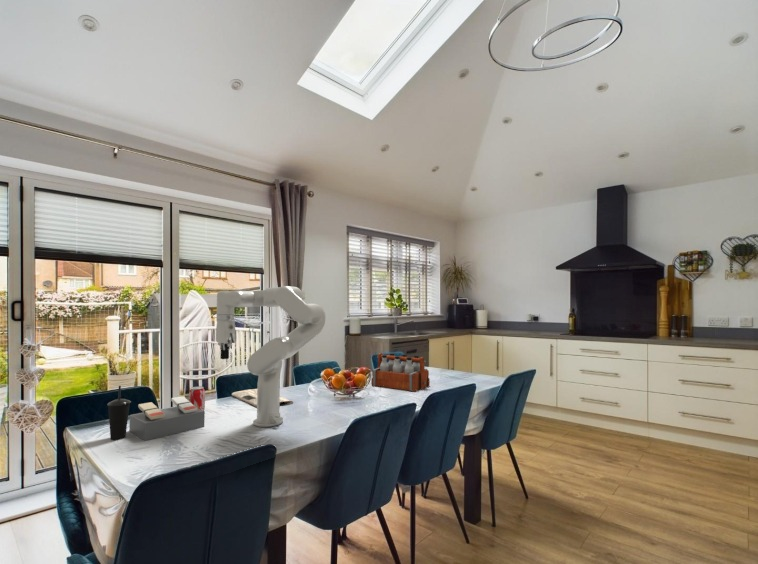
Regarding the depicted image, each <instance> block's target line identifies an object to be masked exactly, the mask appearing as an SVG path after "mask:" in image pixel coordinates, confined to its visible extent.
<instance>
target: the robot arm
mask: <svg viewBox="0 0 758 564" xmlns="http://www.w3.org/2000/svg"><path fill="white" fill-rule="evenodd" d="M303 298H304V293H303V291H302V290H301V289H300V288H299V287H297V286H290V285H282V286H279V287H266V288H265V289H263V290H262V289H261V290H232V291H231V290H221V291H218V292H217V294H216V320H215V321H216V329H215V342H216V343H217V345H218V346H219V350H220V355H219V356H220V357H219V359H220V360H228V359H229V358H230V349H231V347H232V346H233V344H235V343H236V338H237V336H236V324H235V308H253V307H255V308H256V307H267V308H272V307H273V308H274V307H275V308H276V307H280V308H281V309H282V310H283V311H284V312H285V313H287V315H288V316H289V317H291V318H292V319H293V320H294V321H295V322H297V323H298V324H300V325H298V326H296V328H294V329H293V330H291V331H290V332H289V333H287V334H286V335H283V336H280V337H274V338H272V339H270V340H269V341H268V342H266V343H265V344H264V345H262V346H261V347H260V348H259V349H257V350H256V351H255V352H253V353H252V354H251V355H250V356H249V357H248V360H247V363H246V365H247V370H248V372H249V373H250V374H251V375H254V376H257V377H258V378H257V388H256V389H257V407H256V418H255V419H253V420H252V424H253V425H254V426H255V427H260V428H266V427H267V428H268V427H275V426H279V425H282V423H284V417H281V412H280V411H281V409H280V404H281V402H280V397H281V396H280V395H281V393H280V391H281V373H282V372H281V371H282V368H283V360H286V359H289V358H291V357H293V356H294V355H296V354H297V353H298V352H299V351H300V350H302V349H303V348H304V347H305V346H306V345H308V344H309V343H310V342H311V341H313V340H314V339H315V338H316V337H318V335H319V334H320V333H321V332H322V330H323V329H324V327H325V324H326V312H325V310H324V308H323V307H322V306H321V305H320V304H317V303H306V302H305V301H304V300H303Z"/></svg>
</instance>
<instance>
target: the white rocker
mask: <svg viewBox="0 0 758 564" xmlns="http://www.w3.org/2000/svg"><path fill="white" fill-rule="evenodd" d="M171 402H172V403H173V404H174V405H175V406H177V407H178V408H179V409H181V410H182V411H183V412H184V413H190V412H195V411H197V408H196V407H195V406H194V405H193V404H192V403H191V402H189V399H187V398H186V397H185V396H184V395H182V396H175V397H171Z"/></svg>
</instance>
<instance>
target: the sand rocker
mask: <svg viewBox="0 0 758 564" xmlns="http://www.w3.org/2000/svg"><path fill="white" fill-rule="evenodd" d="M137 407H138V409H139V410H140V411H142V412H141V413H144V414H145V415H146V416H147V417H148V418H149V419H150V420H153V419H158V418H162V417H164V416H165V414H164V413H163V412H162V411H161V410H160V409H161V408H159V407H158V406H157V405H155V404H154V403H153V402H152V401H151V402H144V403H139V404H138V405H137Z"/></svg>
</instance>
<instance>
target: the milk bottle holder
mask: <svg viewBox="0 0 758 564" xmlns="http://www.w3.org/2000/svg"><path fill="white" fill-rule="evenodd" d="M376 358H377V367H376V368H373V370H372V371H371V376H372V377H371V382H370V383H371V386H373V387H383V388H390V389H396V390H403V391H409V392H417V390H423V389H425V388H426V387H427V386H430V380H431V379H430V377H429V376H430V375H429V372H430V371H429V370H428V368H425V367H426V366H425V364H426V363H427V360H425V359H426V358H425V357H424V356H420V357H419V355H414V356H413V357H409V356H408V354H402V355H395V353H389V354H383V353H382V352H379V353H378V355H377V356H376ZM387 360H388V361H387Z"/></svg>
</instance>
